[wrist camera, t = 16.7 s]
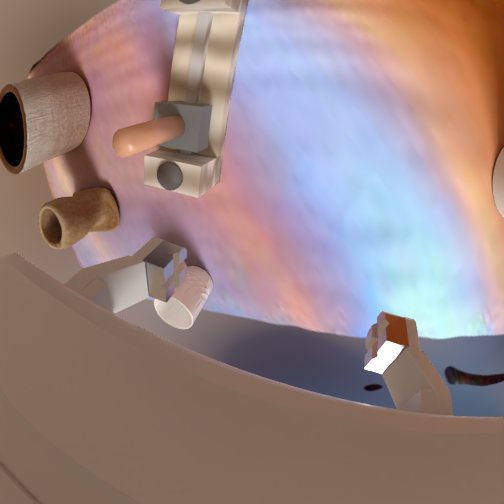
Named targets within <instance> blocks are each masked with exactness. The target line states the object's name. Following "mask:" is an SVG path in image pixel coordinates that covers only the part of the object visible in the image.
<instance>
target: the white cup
mask: <svg viewBox="0 0 504 504" xmlns="http://www.w3.org/2000/svg"><path fill="white" fill-rule="evenodd" d="M212 286H213V282H212V279H211V277H210V275H209V274H208V273H207V272H206V271H205V270H203V269H202V268H200V267H197V266H193V265H192V266H187V272H186V276H185V278H184V281H183V282H182V284H181V285H180V286H178V287H176V288H174V294H173V295H172V296H171V298H170V299H169V300H168V302H167V303H165V302H163V301H160V300H158V299H155V300H154V306H155V309H156V311H157V313H158V314H159V316H161V318H162V319H163V320H164V321H165V322H167V323H169V324H170V325H171V326H174V327H176V328H179V329H187V328H190V327H191V326H192V324H193V322H194V321H195V319H196V317H197V316H198V314H199V312H200V310H201V309H202V307H203V305H204V303H205V301H206V299H207V297H208V295H209V293H210V292H211V290H212Z"/></svg>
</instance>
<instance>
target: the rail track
mask: <svg viewBox="0 0 504 504" xmlns="http://www.w3.org/2000/svg"><path fill="white" fill-rule="evenodd" d="M247 5H248V0H161V5H160V9H162V10H165V11H168V12H172V13H175V14H178V15H180V18H179V23H178V29H177V35H176V41H175V47H174V54H173V61H172V68H171V76H170V85H169V94H168V101H184V102H189V103H198V104H201V103H207V104H209V105H213V106H212V113H211V121H210V129H209V138H208V147H207V148H206V149H204V150H201V151H199V152H197V153H196V152H191V151H186V150H181V149H175V148H169V147H164V148H161V149H159V150H156V151H154V152H152V153H149V154H147V155H145V160H144V184H146V185H150V186H154V187H158V188H162V189H166V190H170V191H174V192H178V193H181V194H185V195H189V196H193V197H197V198H199V197H200V196H201V195H203V194H204V193H205V192H207V191H208V190H209V189H210V188H212V187H213V186H214V185H216V184H217V183H218V182H220V174H221V165H222V158H223V150H224V142H225V135H226V128H227V121H228V114H229V107H230V100H231V94H232V88H233V81H234V75H235V69H236V63H237V57H238V52H239V46H240V41H241V35H242V30H243V25H244V20H245V15H246V10H247Z"/></svg>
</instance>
